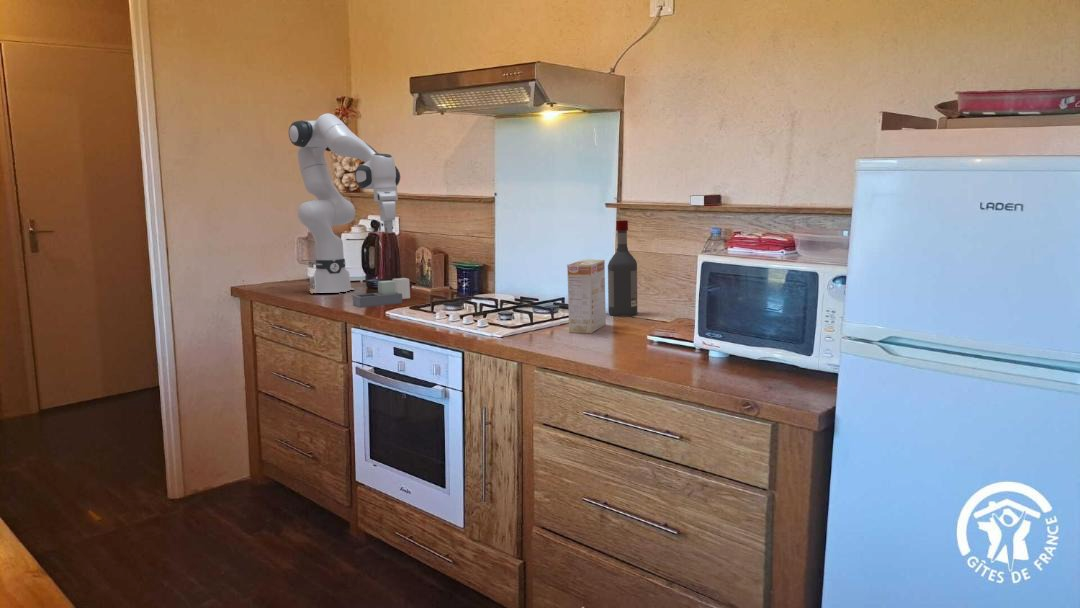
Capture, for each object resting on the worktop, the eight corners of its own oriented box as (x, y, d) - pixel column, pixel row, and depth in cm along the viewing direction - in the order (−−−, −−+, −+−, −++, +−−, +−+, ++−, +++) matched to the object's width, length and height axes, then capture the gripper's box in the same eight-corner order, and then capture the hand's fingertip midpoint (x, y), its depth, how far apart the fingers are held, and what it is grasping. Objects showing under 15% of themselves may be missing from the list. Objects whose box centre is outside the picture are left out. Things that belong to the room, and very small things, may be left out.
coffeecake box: (584, 323, 227) (582, 259, 225) (606, 324, 225) (606, 259, 222) (567, 332, 214) (566, 264, 211) (591, 333, 211) (590, 264, 208)
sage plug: (378, 302, 281) (377, 281, 280) (391, 301, 284) (390, 280, 283) (383, 304, 277) (382, 282, 276) (396, 303, 280) (395, 281, 278)
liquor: (608, 316, 240) (606, 221, 236) (609, 311, 249) (608, 220, 245) (637, 316, 239) (636, 220, 235) (637, 311, 248) (636, 219, 244)
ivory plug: (393, 299, 295) (392, 278, 293) (405, 298, 297) (404, 277, 296) (397, 300, 290) (396, 279, 289) (410, 299, 293) (409, 278, 292)
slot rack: (353, 306, 278) (352, 295, 278) (394, 301, 286) (394, 291, 286) (360, 308, 271) (359, 297, 270) (402, 304, 279) (402, 293, 278)
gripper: (374, 197, 297) (377, 232, 298) (380, 195, 277) (382, 233, 279) (391, 196, 298) (393, 231, 300) (397, 195, 279) (400, 232, 281)
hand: (388, 232), depth 289 cm, fingers open, 8 cm apart
